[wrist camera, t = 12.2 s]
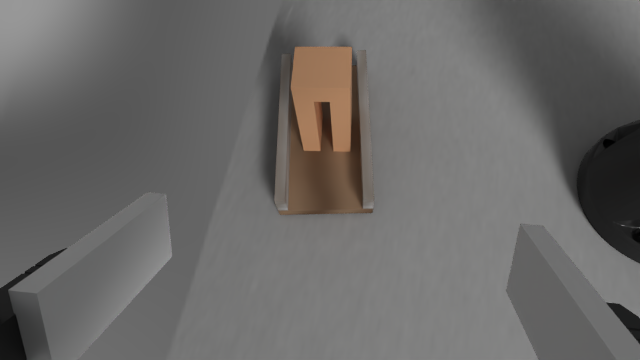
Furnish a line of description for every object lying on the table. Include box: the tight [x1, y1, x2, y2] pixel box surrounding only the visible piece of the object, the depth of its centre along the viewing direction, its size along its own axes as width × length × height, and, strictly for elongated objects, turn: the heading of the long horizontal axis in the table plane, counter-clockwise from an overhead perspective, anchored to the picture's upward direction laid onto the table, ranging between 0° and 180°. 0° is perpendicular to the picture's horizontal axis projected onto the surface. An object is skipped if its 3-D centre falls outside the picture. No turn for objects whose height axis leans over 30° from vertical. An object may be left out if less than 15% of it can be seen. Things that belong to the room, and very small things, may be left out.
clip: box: [291, 47, 352, 152], centre depth 42 cm, size 5×4×11 cm
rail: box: [274, 50, 374, 215], centre depth 46 cm, size 10×18×4 cm, turn 0°
